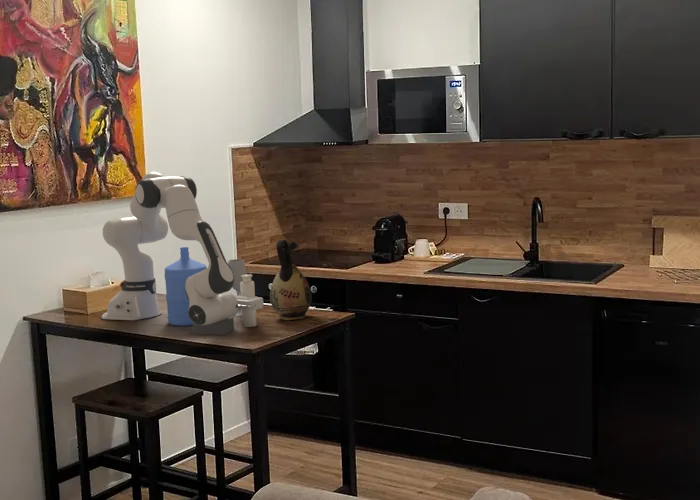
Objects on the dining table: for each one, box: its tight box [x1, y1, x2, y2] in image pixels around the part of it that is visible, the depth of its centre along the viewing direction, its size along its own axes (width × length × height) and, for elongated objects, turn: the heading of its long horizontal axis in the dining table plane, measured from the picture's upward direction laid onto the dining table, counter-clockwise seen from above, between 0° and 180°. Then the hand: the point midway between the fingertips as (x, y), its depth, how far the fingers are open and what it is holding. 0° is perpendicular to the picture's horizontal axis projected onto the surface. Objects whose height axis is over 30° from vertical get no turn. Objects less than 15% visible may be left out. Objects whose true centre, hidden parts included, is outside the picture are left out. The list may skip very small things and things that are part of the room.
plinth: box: [192, 316, 235, 335], centre depth 316 cm, size 12×10×4 cm
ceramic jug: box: [269, 239, 313, 321], centre depth 329 cm, size 17×15×30 cm
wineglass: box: [227, 258, 248, 317], centre depth 340 cm, size 8×8×21 cm
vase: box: [240, 273, 257, 328], centre depth 321 cm, size 5×5×18 cm
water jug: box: [164, 246, 208, 327], centre depth 331 cm, size 16×16×28 cm
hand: (249, 297), depth 321 cm, fingers closed on vase, 5 cm apart
